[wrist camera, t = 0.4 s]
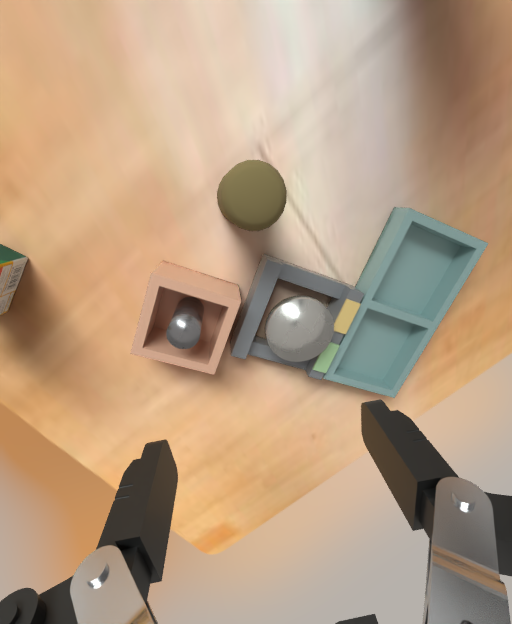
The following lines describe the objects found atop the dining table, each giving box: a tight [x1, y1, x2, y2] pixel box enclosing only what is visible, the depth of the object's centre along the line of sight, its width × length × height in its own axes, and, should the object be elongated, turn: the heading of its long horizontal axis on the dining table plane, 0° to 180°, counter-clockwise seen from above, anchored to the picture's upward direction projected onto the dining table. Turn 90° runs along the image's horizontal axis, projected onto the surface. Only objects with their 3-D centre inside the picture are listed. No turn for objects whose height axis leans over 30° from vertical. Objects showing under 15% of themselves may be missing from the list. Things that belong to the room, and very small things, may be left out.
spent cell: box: [166, 297, 204, 349], centre depth 32 cm, size 3×3×7 cm
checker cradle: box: [230, 254, 364, 380], centre depth 36 cm, size 12×12×4 cm
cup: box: [130, 261, 241, 375], centre depth 33 cm, size 9×9×6 cm
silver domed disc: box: [265, 295, 334, 362], centre depth 34 cm, size 8×8×4 cm
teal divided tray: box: [323, 207, 488, 398], centre depth 37 cm, size 22×11×3 cm, turn 160°
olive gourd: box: [217, 160, 286, 231], centre depth 27 cm, size 6×6×11 cm
